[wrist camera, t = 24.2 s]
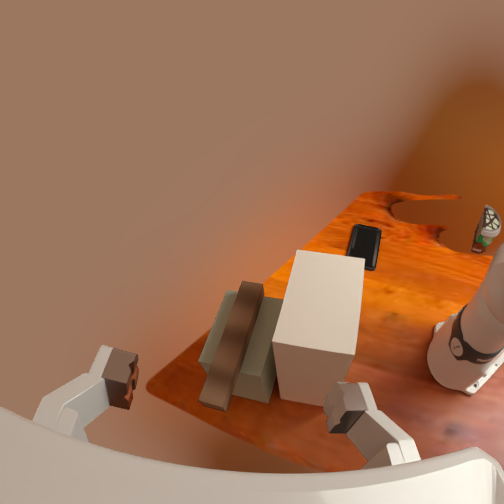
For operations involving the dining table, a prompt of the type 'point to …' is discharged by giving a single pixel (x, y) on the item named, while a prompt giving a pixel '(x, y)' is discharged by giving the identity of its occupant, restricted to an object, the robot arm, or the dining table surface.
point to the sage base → (249, 349)
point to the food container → (486, 230)
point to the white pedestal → (317, 325)
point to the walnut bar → (232, 347)
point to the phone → (365, 245)
